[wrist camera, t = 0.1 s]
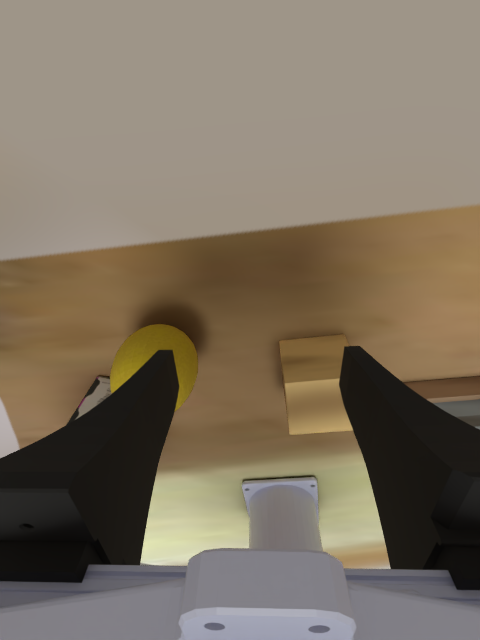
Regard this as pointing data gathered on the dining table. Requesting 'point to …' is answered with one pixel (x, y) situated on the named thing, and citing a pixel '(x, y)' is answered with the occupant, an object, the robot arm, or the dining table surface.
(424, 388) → the grey storage bin
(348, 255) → the dining table surface
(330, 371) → the wooden block
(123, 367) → the lemon
